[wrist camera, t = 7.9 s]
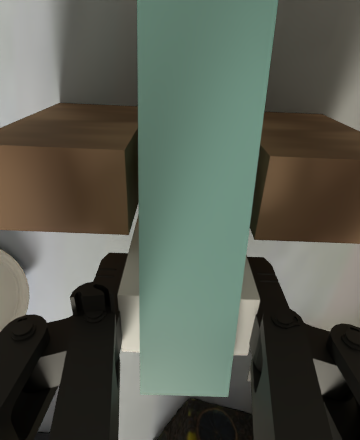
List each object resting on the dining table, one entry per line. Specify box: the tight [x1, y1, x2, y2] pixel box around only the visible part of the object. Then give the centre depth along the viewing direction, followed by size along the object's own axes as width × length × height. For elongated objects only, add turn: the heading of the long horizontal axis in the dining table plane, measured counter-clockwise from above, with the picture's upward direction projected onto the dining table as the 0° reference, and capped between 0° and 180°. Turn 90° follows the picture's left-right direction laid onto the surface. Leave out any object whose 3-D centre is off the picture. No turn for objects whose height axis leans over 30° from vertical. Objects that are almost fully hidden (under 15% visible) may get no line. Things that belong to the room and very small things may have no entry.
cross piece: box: [137, 0, 278, 397], centre depth 12 cm, size 14×3×8 cm, turn 178°
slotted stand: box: [0, 103, 360, 244], centre depth 13 cm, size 14×3×8 cm, turn 88°
